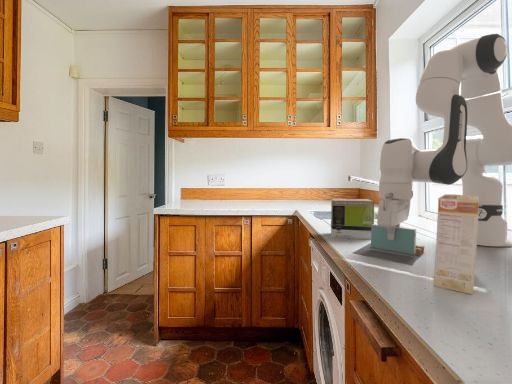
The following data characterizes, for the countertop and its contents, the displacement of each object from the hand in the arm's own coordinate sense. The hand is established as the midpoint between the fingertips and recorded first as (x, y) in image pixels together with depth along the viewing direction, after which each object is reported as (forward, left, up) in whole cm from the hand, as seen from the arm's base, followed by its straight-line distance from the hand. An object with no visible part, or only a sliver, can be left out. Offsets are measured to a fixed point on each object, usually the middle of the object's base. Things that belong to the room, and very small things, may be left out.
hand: (392, 238), depth 82 cm
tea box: (-16, -19, -5) cm, 25 cm away
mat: (0, -1, -5) cm, 5 cm away
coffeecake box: (+11, +16, -5) cm, 21 cm away
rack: (-6, 0, -4) cm, 7 cm away
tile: (0, 0, -4) cm, 4 cm away
